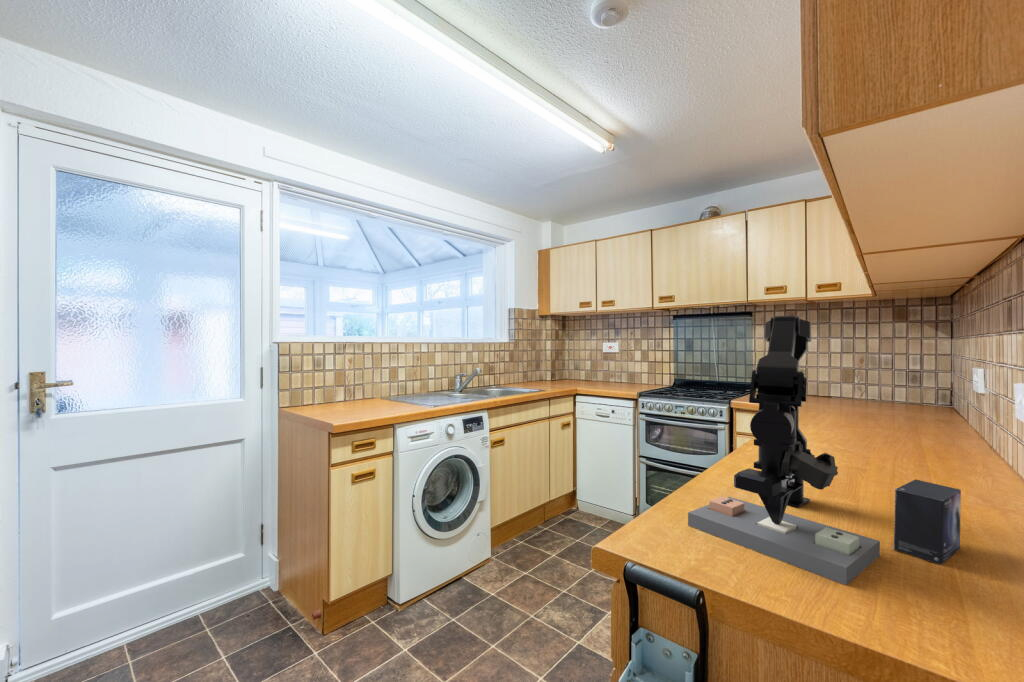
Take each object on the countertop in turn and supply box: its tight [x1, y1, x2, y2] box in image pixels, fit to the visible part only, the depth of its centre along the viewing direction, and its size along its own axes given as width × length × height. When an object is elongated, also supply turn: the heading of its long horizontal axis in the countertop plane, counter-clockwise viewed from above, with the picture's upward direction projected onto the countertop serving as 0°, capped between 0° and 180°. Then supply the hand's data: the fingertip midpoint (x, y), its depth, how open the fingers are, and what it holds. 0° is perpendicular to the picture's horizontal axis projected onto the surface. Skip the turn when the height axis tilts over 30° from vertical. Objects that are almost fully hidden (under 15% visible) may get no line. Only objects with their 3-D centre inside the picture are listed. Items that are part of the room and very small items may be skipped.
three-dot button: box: [708, 496, 744, 517], centre depth 85 cm, size 4×4×3 cm
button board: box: [687, 496, 881, 586], centre depth 77 cm, size 15×25×2 cm, turn 36°
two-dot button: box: [815, 527, 859, 556], centre depth 70 cm, size 4×4×3 cm
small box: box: [893, 479, 962, 566], centre depth 74 cm, size 11×6×10 cm, turn 123°
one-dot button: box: [757, 517, 796, 534], centre depth 77 cm, size 4×4×3 cm
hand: (776, 523), depth 77 cm, fingers closed, pressing on one-dot button
